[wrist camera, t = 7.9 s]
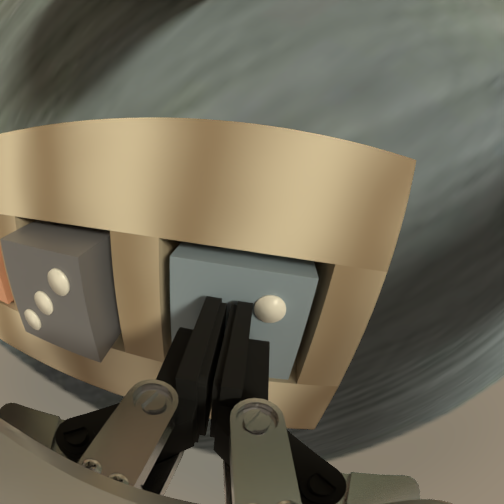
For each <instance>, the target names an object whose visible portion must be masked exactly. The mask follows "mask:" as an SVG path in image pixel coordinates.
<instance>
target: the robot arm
mask: <svg viewBox="0 0 504 504" xmlns="http://www.w3.org/2000/svg"><path fill="white" fill-rule="evenodd" d="M252 309H253V303H249V302H242V301H238V304H237V305H235V304H231V309H230V313H229V317H228V321H227V326H226V330H225V321H226V311H227V303H223V302H222V298H217V297H211V296H206V299H205V301H204V304H203V306H202V309H201V311H200V314H199V317H198V319H197V322H196V324H195V327H194V329H188V328H183V327H180V328H179V329H178V331H177V333H176V335H175V337H174V339H173V342H172V344H171V346H170V348H169V350H168V353H167V355H166V357H165V360H164V362H163V364H162V366H161V369H160V371H159V373H158V376H157V378H156V380H153V379H148V380H144V381H140V382H138V383H136V384H135V385H134V386H133V387H132V388H131V389H130V390H129V391H128V393H127V394H126V395H125V397H124V398H123V399H122V401H121V402H120V403H118V404H115V405H112V406H109V407H106V408H103V409H100V410H96V411H93V412H90V413H87V414H83V415H80V416H76V417H73V418H69V419H67V420H61V419H60V417H59V416H55V415H52V414H48V413H45V412H41V411H38V410H34V409H31V408H28V407H25V406H22V405H19V404H16V403H8V404H5V405H4V406H3V407H1V409H0V504H197V503H192V502H187V501H183V500H178V499H174V498H170V497H166V496H164V494H165V492H166V490H167V488H168V485H169V484H170V481H171V479H172V477H173V475H174V473H175V471H176V469H177V467H178V465H179V462H180V460H181V458H182V456H183V453H184V450H186V449H188V448H191V447H193V446H194V443H195V442H198V439H199V435H204V436H205V435H206V431H207V426H208V421H209V416H210V412H211V428H210V437H215V441H214V450H215V452H216V453H217V454H218V455H219V456H220V457H221V458H222V459H223V460H224V461H223V469H224V491H225V504H452V503H449V502H445V501H441V500H432V499H420V490H419V485H418V483H417V482H416V480H415V479H413V478H411V477H409V476H404V475H377V474H366V473H355V472H351V474H344V473H340V472H339V471H338V470H337V469H336V468H335V467H333V466H332V465H330V464H329V463H328V462H326V461H325V460H324V459H322V458H321V457H320V456H318V455H317V454H316V453H315V452H313V451H312V450H311V449H309V448H308V447H307V446H306V445H304V444H303V443H302V442H301V441H299V440H298V439H297V438H296V437H294V436H293V435H292V434H291V433H290V432H288V431H287V429H286V424H285V419H284V416H283V413H282V411H281V410H280V409H279V408H278V406H277V405H275V404H273V403H272V402H270V401H268V388H269V352H270V342H269V341H262V340H255V339H249V334H250V326H251V317H252ZM224 331H225V334H224ZM211 407H212V408H211Z"/></svg>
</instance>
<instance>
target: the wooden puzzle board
mask: <svg viewBox="0 0 504 504" xmlns="http://www.w3.org/2000/svg"><path fill="white" fill-rule="evenodd" d="M415 164H416V160H414V159H411V158H408V157H405V156H402V155H398V154H395V153H392V152H388V151H385V150H381V149H378V148H374V147H371V146H367V145H363V144H359V143H355V142H351V141H347V140H342V139H338V138H334V137H329V136H324V135H319V134H314V133H309V132H304V131H298V130H292V129H286V128H280V127H273V126H266V125H259V124H250V123H242V122H232V121H221V120H207V119H190V118H115V119H98V120H86V121H76V122H67V123H58V124H51V125H44V126H38V127H32V128H26V129H21V130H16V131H11V132H7V133H2V134H0V239H1V238H3V237H4V236H6V235H8V234H10V233H12V232H14V231H16V230H18V229H19V228H21V227H23V226H25V225H27V224H29V223H31V222H33V221H35V220H43V221H50V222H56V223H63V224H70V225H76V226H83V227H90V228H97V229H103V230H110V239H111V254H112V266H113V276H114V285H115V293H116V300H117V307H118V314H119V320H120V326H121V334H120V335H119V337H118V338H117V340H116V341H115V342H114V344H113V345H112V347H111V348H110V350H109V351H108V353H107V354H106V356H105V357H104V359H103V360H102V362H101V363H100V362H97V361H94V360H91V359H89V358H86V357H83V356H81V355H78V354H76V353H73V352H71V351H68V350H66V349H63V348H61V347H59V346H56V345H54V344H52V343H49V342H47V341H45V340H43V339H41V338H39V337H36V336H34V335H32V334H30V333H28V332H26V331H25V328H24V325H23V323H22V320H21V317H20V314H19V311H18V308H17V305H16V302H15V298H14V295H13V292H12V288H11V285H10V281H9V277H8V273H7V269H6V265H5V260H4V256H3V251H2V246H1V240H0V246H1V251H2V256H3V261H4V265H5V270H6V274H7V278H8V281H9V285H10V289H11V292H12V295H13V299H14V300H13V301H12V302H11V303H9V304H7V303H5V302H3V301H1V300H0V339H2V340H3V341H5V342H6V343H8V344H10V345H11V346H13V347H15V348H17V349H18V350H20V351H22V352H24V353H25V354H27V355H29V356H31V357H33V358H35V359H37V360H38V361H40V362H42V363H44V364H46V365H48V366H50V367H52V368H55V369H57V370H59V371H61V372H63V373H65V374H68V375H70V376H72V377H74V378H77V379H79V380H81V381H84V382H86V383H89V384H91V385H94V386H96V387H99V388H102V389H104V390H107V391H110V392H113V393H116V394H118V395H121V396H124V397H125V395H126V394H127V393H128V391H129V390H130V389H131V388H132V387H133V386H134V385H135V384H136V383H138V382H140V381H144V380H148V379H153V380H156V378H157V376H158V373H159V371H160V369H161V366H162V364H163V362H164V360H165V357H166V355H167V353H168V350H169V348H170V346H171V344H172V337H171V314H170V255H171V254H172V253H173V252H174V250H175V249H176V248H177V247H178V246H179V245H180V243H181V242H182V241H183V242H190V243H197V244H203V245H210V246H217V247H223V248H230V249H237V250H243V251H250V252H257V253H263V254H270V255H277V256H283V257H290V258H297V259H303V260H310V261H315V268H316V271H317V274H318V278H319V280H318V284H317V287H316V291H315V295H314V298H313V302H312V305H311V309H310V312H309V316H308V319H307V323H306V326H305V329H304V333H303V336H302V339H301V342H300V346H299V349H298V352H297V355H296V358H295V361H294V364H293V367H292V370H291V373H290V376H289V379H288V380H286V379H276V378H269V388H268V401H270V402H272V403H273V404H275V405H277V406H278V408H279V409H280V410H281V411H282V413H283V416H284V419H285V424H286V428H294V429H315V427H316V426H317V424H318V422H319V420H320V419H321V417H322V415H323V414H324V412H325V410H326V408H327V407H328V405H329V403H330V401H331V399H332V397H333V396H334V394H335V392H336V390H337V388H338V386H339V384H340V382H341V380H342V378H343V376H344V374H345V372H346V370H347V368H348V366H349V364H350V362H351V360H352V358H353V356H354V354H355V351H356V349H357V347H358V345H359V343H360V340H361V338H362V336H363V334H364V331H365V329H366V326H367V324H368V322H369V319H370V317H371V314H372V312H373V309H374V307H375V304H376V302H377V299H378V296H379V294H380V291H381V288H382V285H383V283H384V280H385V277H386V274H387V271H388V268H389V265H390V262H391V259H392V256H393V253H394V249H395V246H396V243H397V239H398V236H399V232H400V229H401V225H402V221H403V218H404V214H405V210H406V206H407V202H408V198H409V193H410V189H411V184H412V180H413V175H414V170H415ZM211 408H212V407H211ZM209 418H210V419H211V412H210V416H209Z"/></svg>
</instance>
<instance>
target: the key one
mask: <svg viewBox="0 0 504 504" xmlns="http://www.w3.org/2000/svg"><path fill="white" fill-rule="evenodd" d="M0 300H1V301H3V302H5V303H7V304H9V303H11V302H12V301H13V300H14V299H13V295H12V292H11V289H10V285H9V281H8V278H7V274H6V270H5V265H4V261H3V256H2V251H1V246H0Z"/></svg>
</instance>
